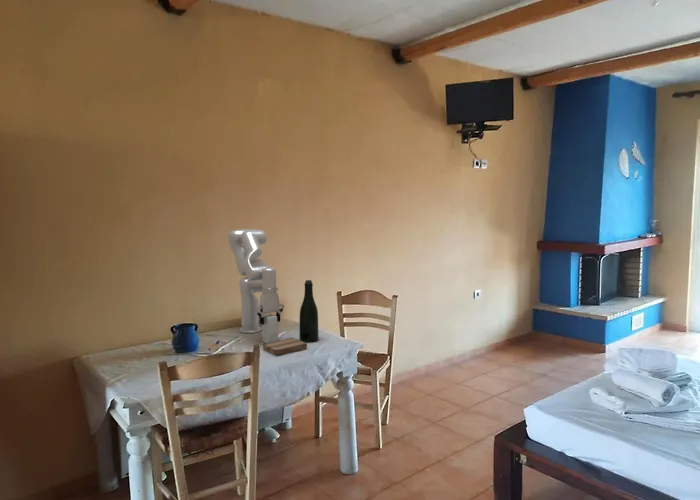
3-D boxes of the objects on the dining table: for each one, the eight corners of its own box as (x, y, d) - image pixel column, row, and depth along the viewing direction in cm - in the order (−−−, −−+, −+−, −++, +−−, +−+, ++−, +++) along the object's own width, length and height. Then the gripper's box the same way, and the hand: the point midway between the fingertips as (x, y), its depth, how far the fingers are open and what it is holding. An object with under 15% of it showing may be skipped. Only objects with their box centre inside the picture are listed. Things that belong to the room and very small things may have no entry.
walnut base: (263, 349, 265) (263, 344, 265) (293, 343, 276) (292, 337, 276) (276, 356, 255) (276, 350, 255) (306, 349, 266) (306, 343, 266)
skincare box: (278, 343, 275) (278, 316, 274) (268, 345, 272) (267, 318, 270) (271, 339, 282) (271, 313, 280) (261, 341, 279) (261, 314, 277)
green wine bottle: (311, 343, 275) (311, 282, 271) (295, 341, 280) (294, 280, 276) (322, 338, 284) (322, 279, 280) (306, 336, 289) (305, 277, 285)
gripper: (279, 288, 282) (280, 319, 284) (251, 292, 271) (252, 324, 273) (287, 289, 276) (287, 321, 278) (258, 294, 265) (259, 326, 267)
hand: (270, 322), depth 275 cm, fingers open, 9 cm apart
